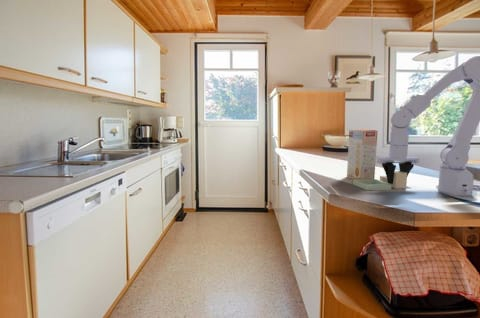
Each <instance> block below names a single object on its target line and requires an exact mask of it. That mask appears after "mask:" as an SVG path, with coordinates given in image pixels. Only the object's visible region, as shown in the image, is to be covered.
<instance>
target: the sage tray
mask: <svg viewBox="0 0 480 318" xmlns="http://www.w3.org/2000/svg"><path fill="white" fill-rule="evenodd" d="M352 185H354V186H356V187H357V188H358V187H359V188H361V189H363V190H365V191H377V190H378V191H385V190H387V191H389V190H390V191H391V190H392V189H391V184H388V183H386V182H383V181H380V179H376V178H374V179H353V180H352Z"/></svg>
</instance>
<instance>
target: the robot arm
mask: <svg viewBox="0 0 480 318" xmlns="http://www.w3.org/2000/svg"><path fill="white" fill-rule="evenodd" d="M461 81H463V82H465V83H467V84H468V85H469V87H470V88H471V90H472V92H471V93H472V94H471V95H470V97H469V100H468V102H467V105H466V107H465V109H464V111H463V114H462V116H461V118H460V120H459V122H458V125H457V127H456V129H455V132H454V134H453V136H452V138H451V139H450V140H449V141H448V144H447V145H446V146H445V147H444V148H443V149H442V150H441V151H440V154H439V158H440V159H441V161H442V163H441V164H440V165H439V173H438V174H439V175H438V187H437V191H439V192H440V193H444V194H450V195H452V196H473V189H474V175H473V173H472V172H471V171H469V170H468V169H467V166H466V165H467V164H468V163H469V162H468V161H469V151H470V149H471V141H472V139H473V138H474V135H475V132H476V130H477V128H478V126H479V124H480V55H476V56H475V55H474V56H472V57H470V58H468V60H466V61H464V62H462V63H461V64H460V65H458V66H457V67H455V68H454V69H452V70H450V71H448V72H447V73H446V74H444V76H442V77H441V78H440V79H439V80H438V81H437V82H435V83H434V84H433V85H432V86H431V87H430V88H429V89H428V90H426V91H425V92H424V93H417V94H416V95H414V94H413V95H412V96H411V97H410V99H409V100H408V101H407V102H406V103H405V104H404V105H403V106H402V105H401V106H399V108H398V109H399V110H397V111H395V112H394V113H393V114H392V115H391V118H390V124H391V126H390V128H391V131H390V137H389V139H390V140H389V153H388V154H389V156H383V157H382V156H381V157H379V156H378V157H376V163H377V164H381V166H382V169H383V170H384V174H385V176H387V181H388V183H390V184H393V179H394V171H396V168H397V165H395V164H398V167H399V171H402V172H406V173H407V177H408V176H409V174H410V172H411V171H412V170H413V168H414V167H415V166H414V164H419V161H420V157H417V156H408V152H409V151H408V149H409V139H410V138H409V137H410V132H409V125H410V124H411V122H412V120H413V119H416V118H417V117H419V116H420V115H421V114H422V113H424V112H425V111H426V110H427V109H428V108H430V107H431V104H432V100H433V99H434V98H436V97H437V96H438V95H439V94H441V93H442V92H443V91H444V90H446V89H447V88H448V87H450V86H451V85H452V84H454V83H459V82H461Z"/></svg>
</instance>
